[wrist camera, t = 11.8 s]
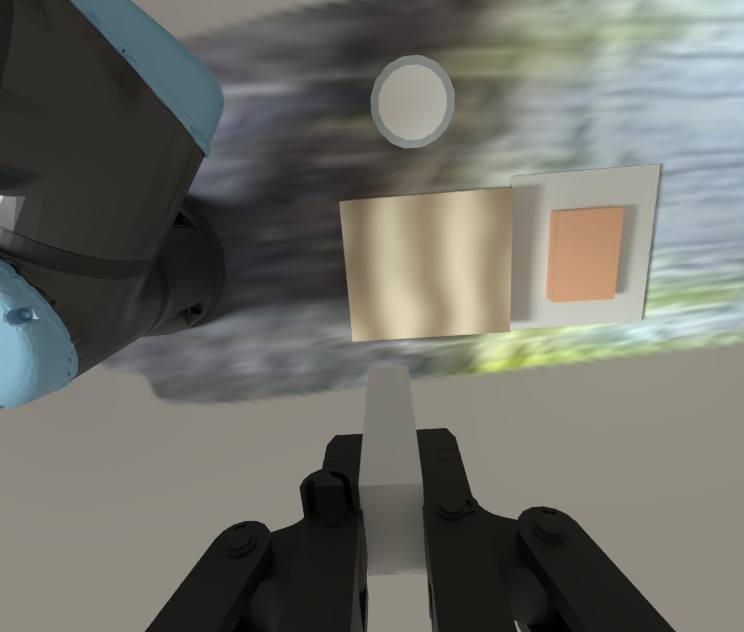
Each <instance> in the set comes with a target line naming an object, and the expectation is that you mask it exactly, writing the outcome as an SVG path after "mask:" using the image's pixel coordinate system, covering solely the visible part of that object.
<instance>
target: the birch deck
mask: <svg viewBox="0 0 744 632" xmlns="http://www.w3.org/2000/svg"><path fill="white" fill-rule="evenodd" d="M339 205H340V215H341V225H342V236H343V246H344V256H345V266H346V276H347V287H348V297H349V307H350V317H351V327H352V337H353V342H355V341H371V340H387V339H403V338H419V337H435V336H451V335H466V334H482V333H498V332H510V304H511V258H512V213H513V187H501V188H489V189H476V190H464V191H452V192H439V193H427V194H414V195H402V196H390V197H377V198H365V199H353V200H342V201H339Z"/></svg>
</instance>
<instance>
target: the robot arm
mask: <svg viewBox="0 0 744 632" xmlns="http://www.w3.org/2000/svg"><path fill="white" fill-rule="evenodd" d="M223 107H224V96H223V92H222V89H221V86H220V84H219V82H218V81H217V79H216V78H215V76H214V75H213V74H212V73H211V71H210V70H209V69H208V68H207V67H206V66H205V65H204V64H203V63H202V62H201V61H200V60H199V59H198V58H197V57H195V56H194V55H193V54H192V53H191V52H190V51H189V50H188V49H187V48H186V47H185V46H184V45H182V44H181V43H180V42H179V41H178V40H177V39H176V38H175V37H173V36H172V35H171V34H170V33H169V32H168V31H167V30H165V29H164V28H163V27H162V26H161V25H160V24H158V23H157V22H156V21H155V20H154V19H153V18H152V17H150V16H149V15H148V14H147V13H146V12H144V11H143V10H142V9H141V8H140V7H139V6H137V5H136V4H135V3H134V2H133V1H131V0H0V409H3V408H10V407H18V406H21V405H24V404H27V403H29V402H32V401H34V400H36V399H38V398H41V397H43V396H45V395H47V394H49V393H52V392H53V391H57V390H60V389H62V388H63V387H65V386H67V385H68V384H69V383H71V382H72V380H73V379H74V378H76V377H78V376H79V375H81V374H82V373H84V372H86V371H87V370H89V369H90V368H92V367H93V366H95V365H97V364H99V363H100V362H102V361H103V360H105V359H107V358H108V357H110V356H111V355H113V354H115V353H116V352H118V351H119V350H121V349H123V348H124V347H126V346H127V345H129V344H131V343H132V342H134V341H135V340H137V339H138V338H140V337H146V336H159V335H167V334H172V333H176V332H179V331H182V330H184V329H186V328H188V327H190V326H191V325H193V324H195V323H196V322H197V321H199V320H200V319H202V318H203V317H204V316H205V315H206V314H208V313H209V311H210V310H211V309H212V308H213V307H214V305H215V304H216V302H217V300H218V298H219V296H220V294H221V291H222V288H223V283H224V275H225V268H224V259H223V254H222V251H221V248H220V245H219V242H218V240H217V238H216V236H215V234H214V232H213V231H212V229H211V228H210V226H209V225H208V224H207V222H206V221H205V220H204V219H203V218H202V217H201V216H200V215H199V214H198V213H197V212H196V211H195V210H194V209H192V208H191V207H190V206H188V205H187V204H185V203H184V202H183V201H184V199H185V197H186V195H187V193H188V191H189V188H190V186H191V184H192V182H193V180H194V178H195V175H196V173H197V171H198V169H199V167H200V165H201V162H202V160H203V158H204V157H206V158H207V157H208V155H209V153H210V149H209V144H210V142H211V139H212V137H213V135H214V132H215V130H216V127H217V125H218V122H219V120H220V117H221V115H222V112H223ZM300 493H301V499H302V506H303V512H304V518H303V519H302V520H301V521H299V522H297V523H296V524H294V525H291V526H289V527H286V528H283V529H280V530H277V531H273V532H270V531H269V529H268V528H267V527H266V526H265V524H263V523H260V522H257V521H244V522H241V523H238V524H234V525H232V526H231V527H229V528H227V529H226V530H224V531H223V532H222V533H221V534H220V535H219V536H218V537H217V538H216V539H215V540H214V541H213V543H212V544H211V545H210V547H209V548H208V549H207V551H206V552H205V553H204V555H203V556H202V557H201V558H200V560H199V561H198V563H197V564H196V565H195V566H194V568H193V569H192V571H191V572H190V573H189V575H188V576H187V577H186V578H185V580H184V581H183V582H182V583H181V585H180V586H179V587H178V589H177V590H176V591H175V593H174V594H173V595H172V597H171V598H170V599H169V601H168V602H167V603H166V605H165V606H164V607H163V609H162V610H161V611H160V612H159V614H158V615H157V616H156V618H155V619H154V620H153V622H152V623H151V624H150V626H149V627H148V628H147V630H146V631H145V632H367V621H368V589H367V569H368V575H369V576H372V575H400V574H426V573H427V576H428V593H429V612H430V618H431V622H432V632H517V629H516V626H515V622H514V620H515V621H517V624H518V627H519V628H520V630H521V632H676V631H674V630H673V628H672V627H671V626H670V625H669V624H668V623H667V622H666V620H665V619H664V618H663V617H662V616H661V615H660V614H659V613H658V612H657V611H656V609H655V608H654V607H653V606H652V605H651V604H650V603H649V602H648V600H646V598H645V597H644V596H643V595H642V594H641V593H640V592H639V591H638V589H637V588H636V587H635V586H634V585H633V584H632V583H631V582H630V581H629V580H628V578H627V577H626V576H625V575H624V574H623V573H622V572H621V571H620V570H619V568H618V567H617V566H616V565H615V564H614V563H613V562H612V561H611V560H610V559H609V557H607V555H606V554H605V553H604V552H603V551H602V550H601V549H600V547H599V546H598V545H597V544H596V543H595V542H594V541H593V540H592V539H591V537H590V536H589V535H588V534H587V533H586V532H585V531H584V530H583V529H582V527H581V526H580V525H579V524H578V523H577V522H576V521H575V520H573V519H572V518H571V517H570V516H569V515H567V514H565V513H563V512H561V511H559V510H557V509H553V508H549V507H543V506H542V507H531V508H529V509H527V510H525V511H523V512H522V514H521V515H520V516H519V518H518V520H515V519H510V518H506V517H501V516H498V515H495V514H492V513H490V512H488V511H486V510H485V509H483V508H482V507H481V506H479V504H478V502H477V500H476V499H474V498H473V496H472V494H471V490H470V487H469V483H468V480H467V476H466V473H465V469H464V465H463V462H462V460H461V455H460V452H459V448H458V444H457V441H456V437H455V436H453V434H452V433H450V431H449V430H448V429H447V428H439V429H421V430H416V426H415V419H414V411H413V403H412V395H411V388H410V380H409V372H408V365H405V366H389V367H373V368H369V370H368V381H367V393H366V404H365V416H364V427H363V434H350V435H336V436H335V437H334V438H333V439H332V440H331V441H330V442H329V444H328V445H327V448H326V452H325V459H324V461H323V468H322V469H320V470H318V471H316V472H314V473H311V474H310V475H309V476H308V477H307V478H305V479H304V480H303V482H302V484H301V486H300Z"/></svg>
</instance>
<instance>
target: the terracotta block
mask: <svg viewBox="0 0 744 632" xmlns="http://www.w3.org/2000/svg"><path fill="white" fill-rule="evenodd" d="M623 214H624V207H616V206H607V207H593V208H578V209H563V210H551V213H550V230H549V247H548V264H547V281H546V298H548V299H549V300H551V301H552V302H570V301H588V300H606V299H614V296H615V286H616V277H617V268H618V259H619V250H620V241H621V232H622V223H623Z"/></svg>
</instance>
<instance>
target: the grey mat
mask: <svg viewBox="0 0 744 632" xmlns="http://www.w3.org/2000/svg"><path fill="white" fill-rule="evenodd" d="M659 172H660V164H654V165H641V166H629V167H617V168H605V169H593V170H581V171H568V172H556V173H544V174H532V175H520V176H512V179H511V187H513V213H512V258H511V304H510V329H525V328H541V327H556V326H572V325H588V324H604V323H620V322H636V321H641V320H642V312H643V304H644V296H645V287H646V279H647V271H648V262H649V254H650V246H651V238H652V229H653V221H654V213H655V205H656V196H657V188H658V180H659ZM607 206H616V207H624V214H623V223H622V232H621V241H620V250H619V259H618V268H617V277H616V286H615V296H614V299H606V300H588V301H570V302H552V301H551V300H549V299H548V298H546V281H547V264H548V247H549V230H550V213H551V210H563V209H578V208H593V207H607Z"/></svg>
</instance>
